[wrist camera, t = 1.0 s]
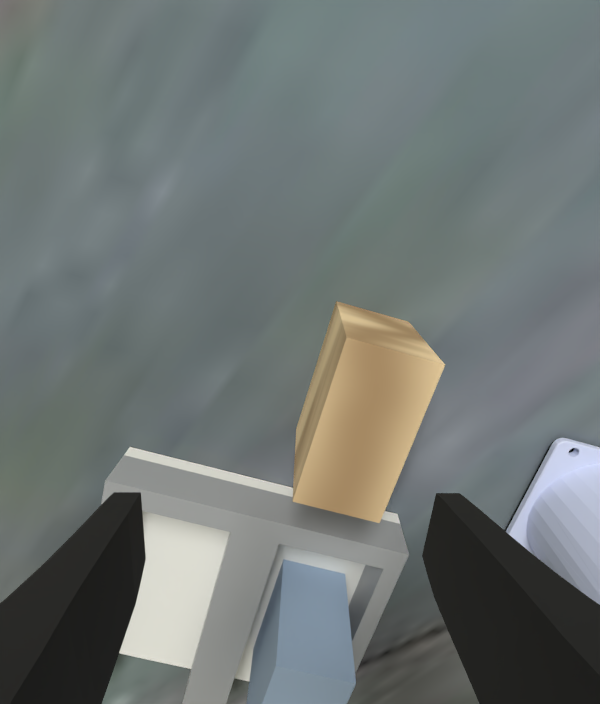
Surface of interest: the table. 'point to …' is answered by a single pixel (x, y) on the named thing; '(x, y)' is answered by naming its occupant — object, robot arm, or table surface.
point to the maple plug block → (362, 412)
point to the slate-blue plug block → (304, 640)
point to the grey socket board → (238, 565)
